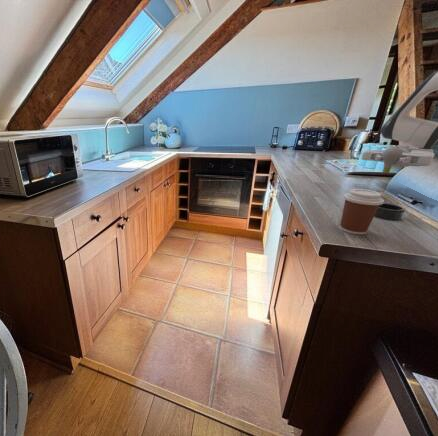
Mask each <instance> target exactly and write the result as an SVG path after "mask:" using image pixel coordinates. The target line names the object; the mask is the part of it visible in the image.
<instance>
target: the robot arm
mask: <svg viewBox="0 0 438 436" xmlns="http://www.w3.org/2000/svg"><path fill="white" fill-rule="evenodd" d="M436 91H438V70H436V71H434V72H432V73H431V74H429V75H428V76H427V77H425V79H424V80H423V81H422V82H421V83H420V84H419V85H418V86H417V87H416V89H415V90H414V91H413V92H412V93H411V94H410V95H409V96H408V98H406V100H405V101H404V102H403V103H402V104H401V105H400V106H399V107H398V109H397V110H396V111H394V113H393V114H392V115H391V116H390V117H389V118H388V119H387V120H386V121H384V123H383V124H382V126H381V128H380V133H381V136H382V137H383V139H387V140H392V141H397V142H401V144H398V145H394V146H393V147H397V148H400V149H401V150H402V156H401V158H399V160H397V161H396V162H395V163H394V164H393V165H392V168H402V167H420V166H425V167H430V166H431V165H432V163H433V160H434V157H435V153H434V149H433V148H434V146H436V144H438V121H434V120H433V121H432V120H428V119H424V118H420V117H414V116H411V115H410V113H412V112H413V110H414V109H415V108H416V107H417V106H418V105H419V104H420V103H421V102H422V101H423V100H424V99H425V98H426V97H427V96H428V95H429V94H431V93H433V92H436ZM384 151H385V150H377V149H371V150H369V149H368V150H364V151H363V152H362V155H361V160H363V161H371V162H382V163H384V161H383V159H382V154H383V152H384Z"/></svg>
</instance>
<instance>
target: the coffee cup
mask: <svg viewBox="0 0 438 436" xmlns="http://www.w3.org/2000/svg"><path fill="white" fill-rule="evenodd" d="M342 198H343V200H344V204H343V208H342V214H341V219H340V224H339V229H340V230H342V231H344V232H346V233H350V234H354V235H366V233H367V232H368V231H369V228H370V226H371V224H372V222H373V220H374V217H375V216H374V215H375V213H376V211H377V209H378V207H379V205H382V204H383V203H385V200H384V199H383V198H382V194H381V192H378V191H376V190H371V189H365V188H352V189H350V190H349V191H348V192H347V193H344V195H343V196H342Z"/></svg>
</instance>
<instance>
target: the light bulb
mask: <svg viewBox="0 0 438 436" xmlns="http://www.w3.org/2000/svg"><path fill="white" fill-rule="evenodd" d="M383 151H384V152H383V154H382V159H383V161H384V162H383V169H382V173H384V174H385V175H386V174H390V172H391V169H392V168H393V167H392V165H393V164H394V163H395V162H396V161H397V160H399V158H401V156H402V150H401V149H400V148H397V147H394V146H390V147H387V148H386V149H384V150H383Z"/></svg>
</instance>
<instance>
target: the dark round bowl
mask: <svg viewBox="0 0 438 436" xmlns="http://www.w3.org/2000/svg"><path fill="white" fill-rule="evenodd" d="M405 211H406V209H405V207H402V206H400V205H397V204H392V203H386V202H384V203H383V204H382V205H379V207H378V209H377V211H376V213H375V215H374V217H375V218H378V219H381V220H386V221H400V220H402V218H403V215H404V213H405Z"/></svg>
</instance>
